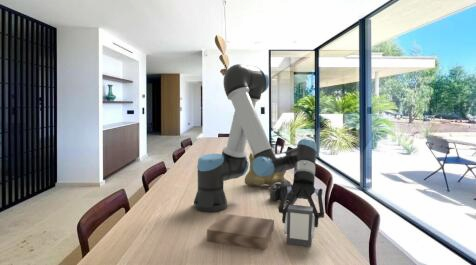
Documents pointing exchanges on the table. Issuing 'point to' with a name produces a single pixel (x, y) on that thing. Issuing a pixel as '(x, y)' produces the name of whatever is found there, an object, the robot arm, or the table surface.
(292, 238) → the tall slate rectangular prism
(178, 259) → the table surface
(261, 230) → the display block
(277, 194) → the camera
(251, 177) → the decorative coral
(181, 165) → the table surface
